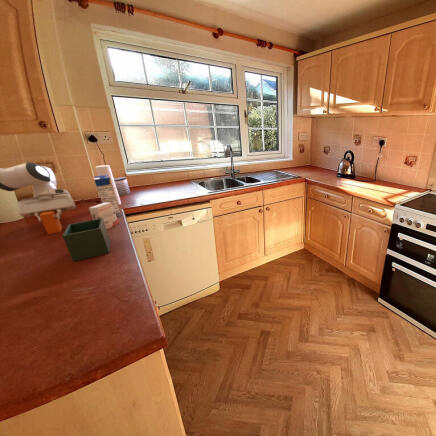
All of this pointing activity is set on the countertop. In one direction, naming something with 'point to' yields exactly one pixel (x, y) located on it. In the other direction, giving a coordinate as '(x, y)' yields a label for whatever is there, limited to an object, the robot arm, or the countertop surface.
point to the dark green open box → (87, 239)
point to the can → (122, 186)
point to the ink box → (104, 214)
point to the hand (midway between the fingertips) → (49, 219)
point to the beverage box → (107, 192)
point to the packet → (50, 222)
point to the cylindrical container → (107, 171)
